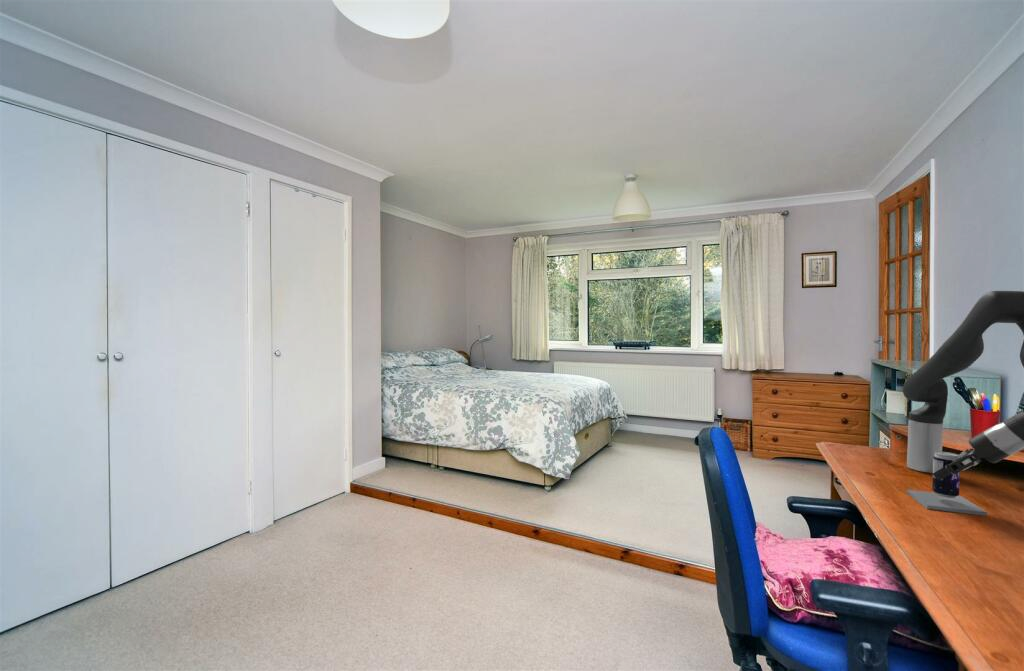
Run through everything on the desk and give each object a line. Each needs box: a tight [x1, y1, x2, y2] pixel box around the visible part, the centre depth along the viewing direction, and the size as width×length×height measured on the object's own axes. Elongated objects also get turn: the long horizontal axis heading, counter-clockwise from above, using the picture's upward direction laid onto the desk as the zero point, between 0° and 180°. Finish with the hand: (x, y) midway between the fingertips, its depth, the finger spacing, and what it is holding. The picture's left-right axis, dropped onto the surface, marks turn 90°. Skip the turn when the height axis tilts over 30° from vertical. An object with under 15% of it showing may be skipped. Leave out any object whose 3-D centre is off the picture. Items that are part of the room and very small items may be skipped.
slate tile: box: [906, 489, 988, 517], centre depth 135 cm, size 13×13×1 cm
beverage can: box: [931, 451, 961, 498], centre depth 134 cm, size 6×6×12 cm
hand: (937, 474), depth 136 cm, fingers closed on beverage can, 5 cm apart
